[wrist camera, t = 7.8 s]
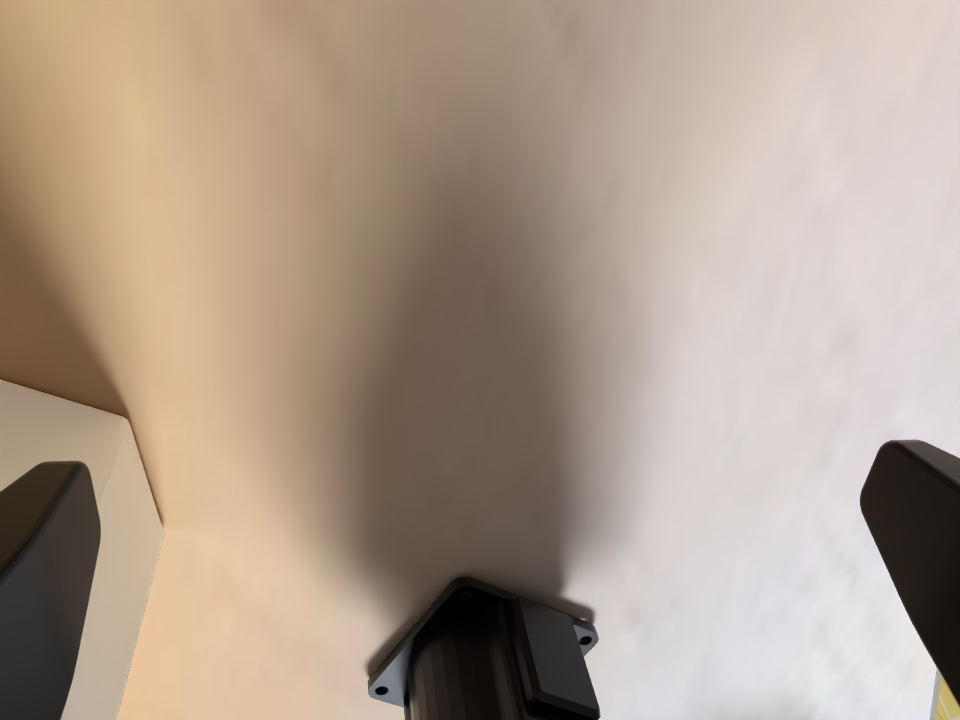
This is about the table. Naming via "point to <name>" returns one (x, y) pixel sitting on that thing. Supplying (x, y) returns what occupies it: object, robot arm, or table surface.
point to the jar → (124, 530)
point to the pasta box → (943, 701)
